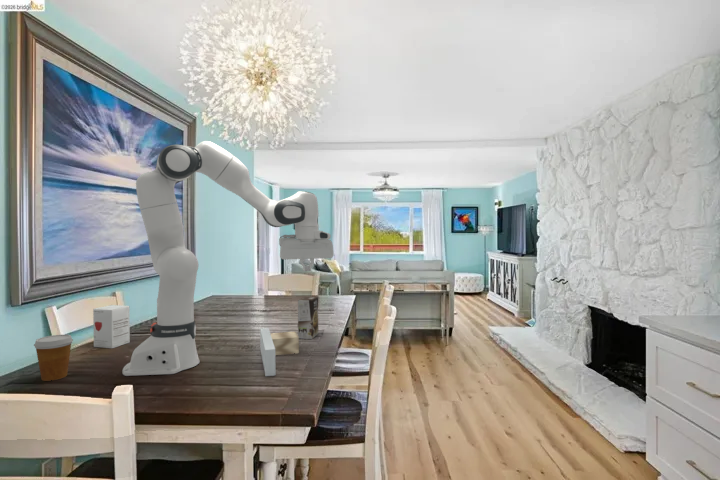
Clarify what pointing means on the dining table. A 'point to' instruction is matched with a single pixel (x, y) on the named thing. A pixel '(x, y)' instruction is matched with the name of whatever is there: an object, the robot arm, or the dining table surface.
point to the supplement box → (111, 326)
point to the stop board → (267, 352)
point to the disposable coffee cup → (53, 356)
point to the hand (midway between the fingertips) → (307, 270)
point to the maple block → (285, 343)
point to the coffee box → (308, 317)
